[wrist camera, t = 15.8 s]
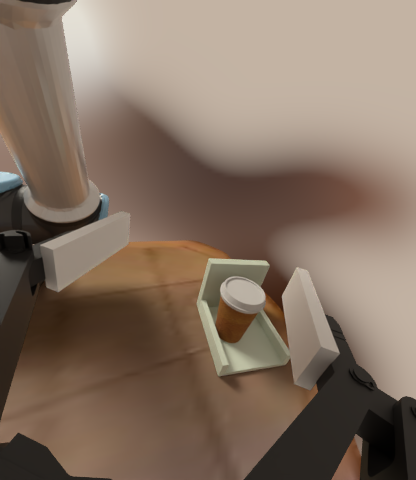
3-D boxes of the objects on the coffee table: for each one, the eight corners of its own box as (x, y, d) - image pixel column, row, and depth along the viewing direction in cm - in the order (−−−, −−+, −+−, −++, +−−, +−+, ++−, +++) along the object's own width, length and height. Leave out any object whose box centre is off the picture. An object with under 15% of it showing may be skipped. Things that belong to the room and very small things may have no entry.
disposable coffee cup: (200, 335, 43) (215, 291, 38) (216, 308, 51) (229, 269, 47) (243, 359, 41) (264, 314, 36) (252, 326, 49) (270, 287, 44)
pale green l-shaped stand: (196, 303, 53) (208, 258, 46) (248, 301, 58) (265, 260, 52) (218, 376, 37) (240, 323, 31) (285, 364, 43) (316, 317, 37)
